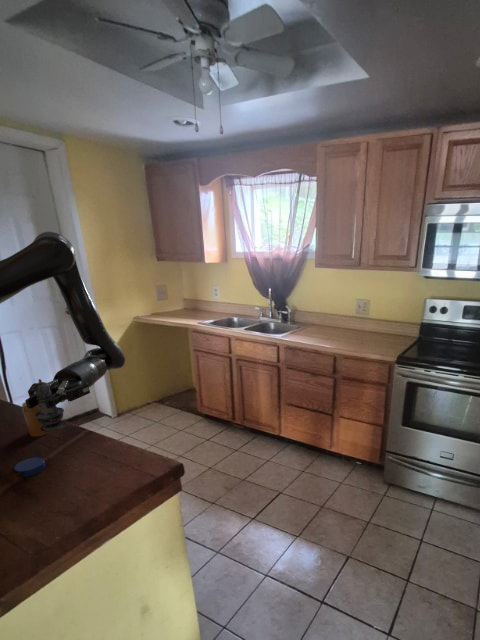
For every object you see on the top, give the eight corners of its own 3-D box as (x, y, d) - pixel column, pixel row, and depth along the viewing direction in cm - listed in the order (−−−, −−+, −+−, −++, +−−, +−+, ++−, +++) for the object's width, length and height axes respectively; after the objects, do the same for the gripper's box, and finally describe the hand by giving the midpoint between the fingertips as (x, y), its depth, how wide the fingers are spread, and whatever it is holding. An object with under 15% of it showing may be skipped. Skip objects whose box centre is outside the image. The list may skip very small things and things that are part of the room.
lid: (51, 464, 92) (49, 458, 91) (32, 478, 87) (30, 472, 86) (30, 462, 93) (28, 456, 92) (10, 475, 87) (7, 469, 87)
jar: (26, 440, 103) (15, 406, 99) (41, 431, 108) (31, 398, 104) (43, 441, 102) (33, 407, 98) (58, 432, 107) (48, 399, 103)
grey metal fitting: (72, 424, 89) (60, 377, 84) (47, 434, 84) (32, 385, 79) (59, 418, 91) (46, 372, 87) (33, 428, 87) (18, 380, 82)
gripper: (107, 390, 100) (73, 419, 84) (54, 390, 99) (10, 419, 84) (102, 364, 97) (65, 389, 81) (46, 364, 96) (-1, 389, 81)
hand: (37, 404), depth 82 cm, fingers closed on grey metal fitting, 3 cm apart
